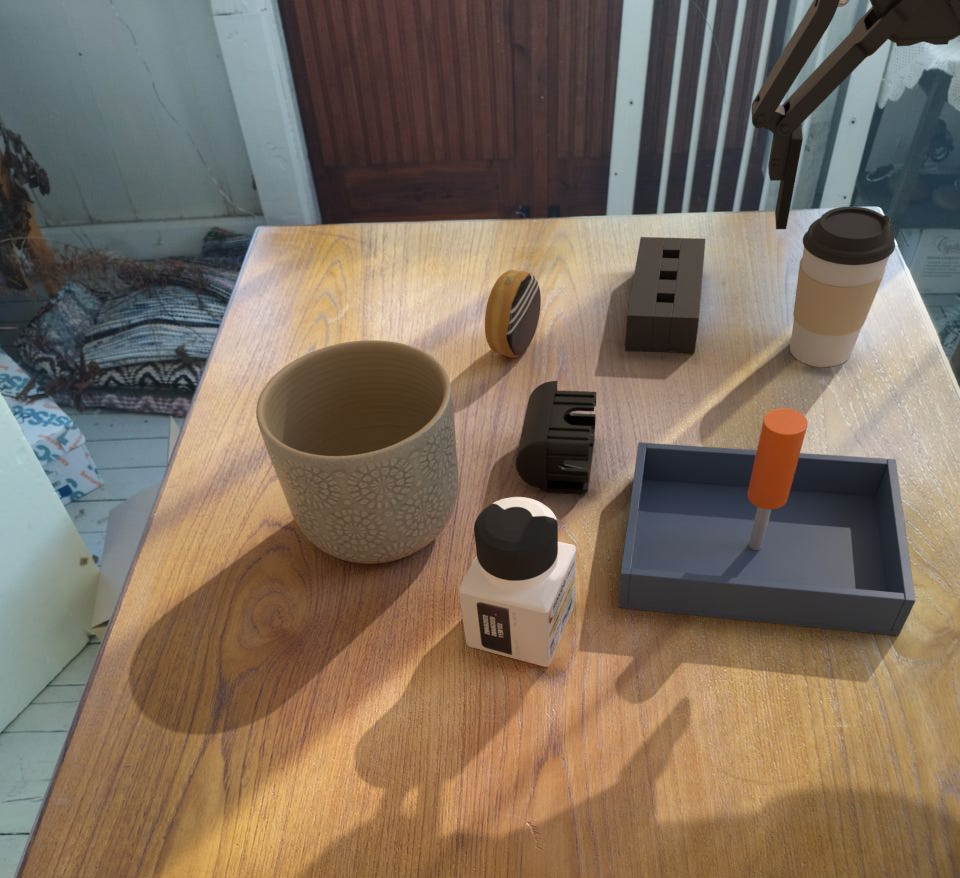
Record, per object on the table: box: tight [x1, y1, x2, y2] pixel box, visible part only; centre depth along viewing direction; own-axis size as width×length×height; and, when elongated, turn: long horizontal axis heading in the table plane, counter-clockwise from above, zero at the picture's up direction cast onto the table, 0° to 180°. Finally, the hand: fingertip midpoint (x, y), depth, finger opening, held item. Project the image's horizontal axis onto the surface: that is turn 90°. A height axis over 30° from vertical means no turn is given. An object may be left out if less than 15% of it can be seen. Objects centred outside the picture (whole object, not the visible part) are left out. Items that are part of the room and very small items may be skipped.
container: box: [458, 496, 577, 668], centre depth 72 cm, size 8×8×13 cm
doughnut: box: [484, 269, 542, 359], centre depth 100 cm, size 9×4×10 cm, turn 153°
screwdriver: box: [747, 407, 809, 550], centre depth 75 cm, size 3×3×14 cm
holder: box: [624, 236, 707, 354], centre depth 105 cm, size 8×18×4 cm, turn 169°
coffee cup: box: [789, 205, 896, 368], centre depth 93 cm, size 9×9×15 cm
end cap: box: [515, 380, 597, 495], centre depth 88 cm, size 10×7×7 cm
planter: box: [255, 339, 459, 565], centre depth 81 cm, size 17×17×15 cm
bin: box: [617, 441, 916, 637], centre depth 79 cm, size 24×18×4 cm
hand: (872, 221), depth 67 cm, fingers open, 13 cm apart
